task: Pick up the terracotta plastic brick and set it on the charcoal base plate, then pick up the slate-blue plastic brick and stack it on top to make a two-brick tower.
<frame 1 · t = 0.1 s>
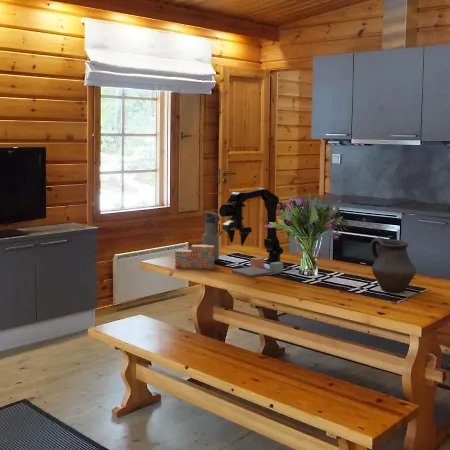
hand: (236, 243, 350), 15 cm above the table, fingers open, 9 cm apart
stack of blocks: (194, 267, 359), on the table
base plate: (252, 272, 345), on the table
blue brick: (276, 272, 347), on the table
pitcher: (390, 290, 309), on the table
terracotta brick: (257, 267, 360), on the table
water bottle: (210, 259, 381), on the table
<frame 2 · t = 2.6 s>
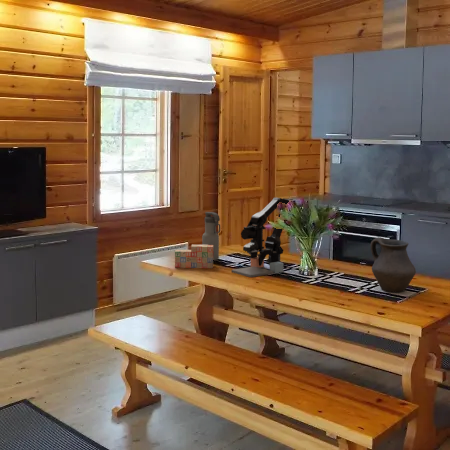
hand: (257, 265, 360), 1 cm above the table, fingers closed on terracotta brick, 4 cm apart
terracotta brick: (257, 266, 360), on the table, touching gripper
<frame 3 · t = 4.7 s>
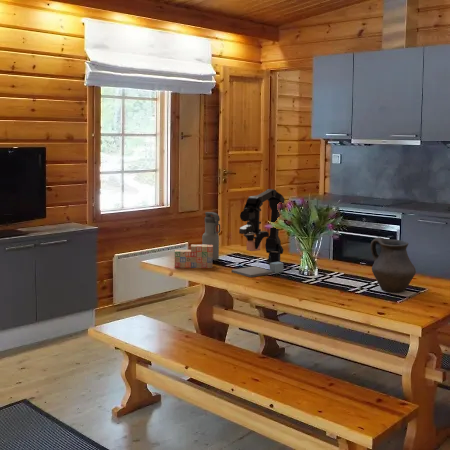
hand: (253, 248, 347), 13 cm above the table, fingers closed on terracotta brick, 4 cm apart
terracotta brick: (253, 250, 347), point 12 cm above the table, touching gripper
when the fingers open (3 cm above the table, at t = 7.0 s): terracotta brick stays where it is, resting on base plate.
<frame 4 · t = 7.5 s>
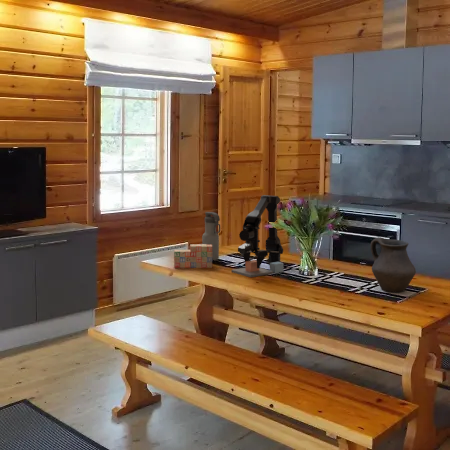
hand: (252, 266, 344), 3 cm above the table, fingers open, 9 cm apart
terracotta brick: (252, 270, 345), point 1 cm above the table, touching base plate
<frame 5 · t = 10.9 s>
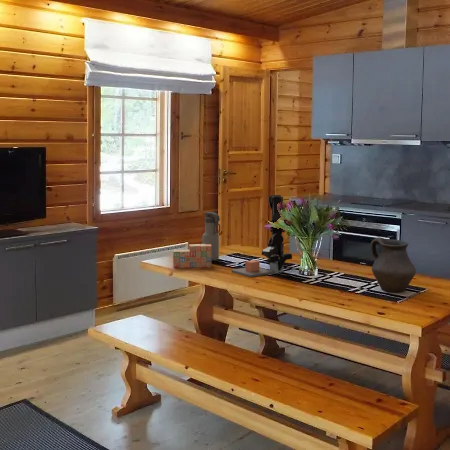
hand: (276, 269, 347), 1 cm above the table, fingers closed on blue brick, 4 cm apart
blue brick: (276, 271, 347), on the table, touching gripper
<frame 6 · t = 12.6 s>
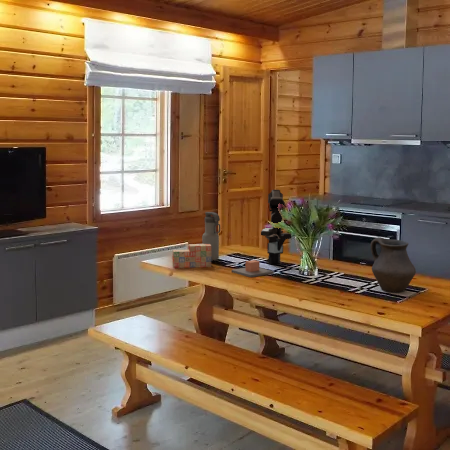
hand: (275, 250, 345), 12 cm above the table, fingers closed on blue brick, 4 cm apart
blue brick: (275, 252, 346), point 11 cm above the table, touching gripper
when the fingers open (8 cm above the table, at t = 14.4 s): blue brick stays where it is, resting on terracotta brick.
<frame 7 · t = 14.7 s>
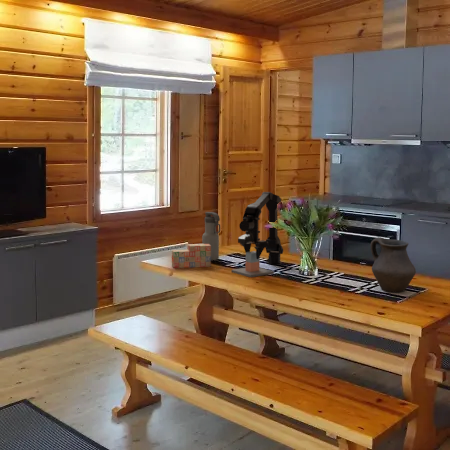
hand: (252, 257, 344), 8 cm above the table, fingers open, 8 cm apart
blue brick: (252, 261, 344), point 6 cm above the table, touching terracotta brick
terracotta brick: (252, 270, 345), point 1 cm above the table, touching base plate, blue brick
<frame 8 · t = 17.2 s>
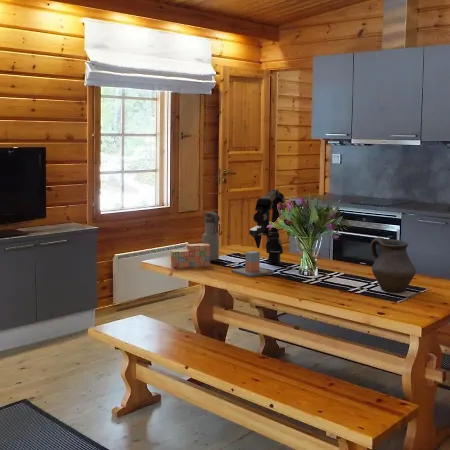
hand: (263, 249, 348), 12 cm above the table, fingers open, 9 cm apart
at the end: terracotta brick inside the target area on the base plate (0.0 cm from its centre), point 1.2 cm above the base plate's base; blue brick 0.0 cm off-centre on the terracotta brick, point 5.0 cm above the terracotta brick's base; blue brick tilted 0° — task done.
